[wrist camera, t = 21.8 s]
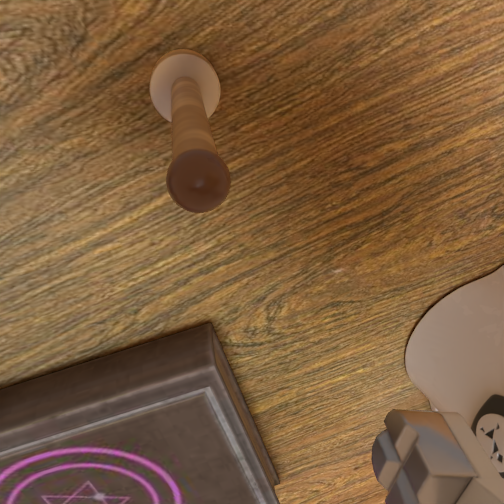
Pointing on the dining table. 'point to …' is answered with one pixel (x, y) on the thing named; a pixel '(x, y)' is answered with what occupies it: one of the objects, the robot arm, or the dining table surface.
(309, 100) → the dining table surface
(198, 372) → the book
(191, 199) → the wooden peg stand
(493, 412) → the robot arm
